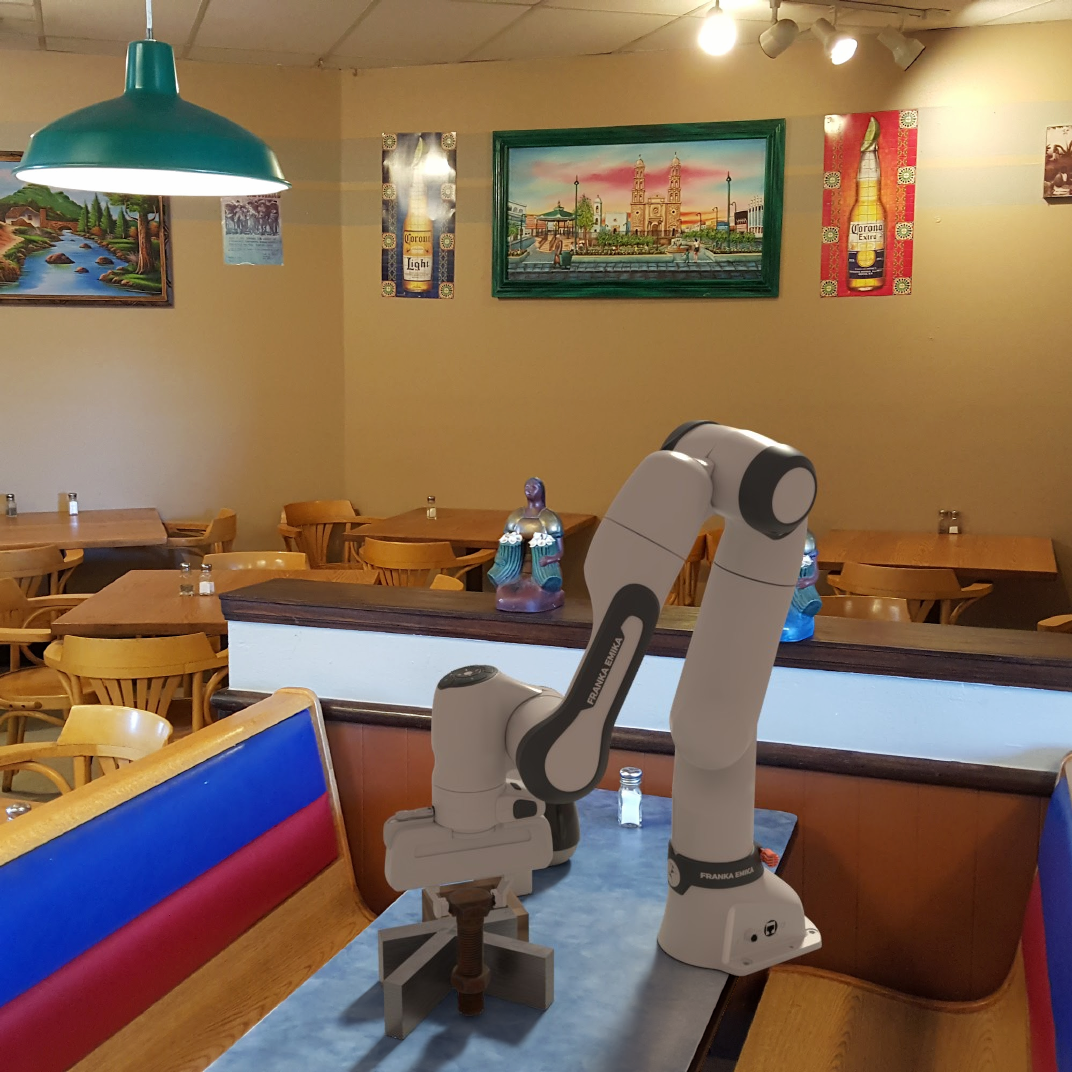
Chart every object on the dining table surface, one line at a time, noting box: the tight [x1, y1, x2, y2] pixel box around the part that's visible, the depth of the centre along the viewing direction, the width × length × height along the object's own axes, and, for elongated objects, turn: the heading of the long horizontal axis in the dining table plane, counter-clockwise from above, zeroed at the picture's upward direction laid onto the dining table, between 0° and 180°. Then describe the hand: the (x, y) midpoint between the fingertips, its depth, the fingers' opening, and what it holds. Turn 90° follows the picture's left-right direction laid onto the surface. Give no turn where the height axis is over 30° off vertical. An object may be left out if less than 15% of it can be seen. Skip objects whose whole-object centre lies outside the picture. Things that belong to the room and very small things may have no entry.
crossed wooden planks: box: [377, 907, 555, 1040], centre depth 143 cm, size 22×14×7 cm, turn 110°
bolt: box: [447, 887, 493, 1017], centre depth 137 cm, size 6×5×15 cm
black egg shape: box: [543, 801, 581, 867], centre depth 181 cm, size 10×10×15 cm
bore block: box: [421, 876, 530, 943], centre depth 158 cm, size 12×12×5 cm
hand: (470, 910), depth 136 cm, fingers closed on bolt, 6 cm apart
